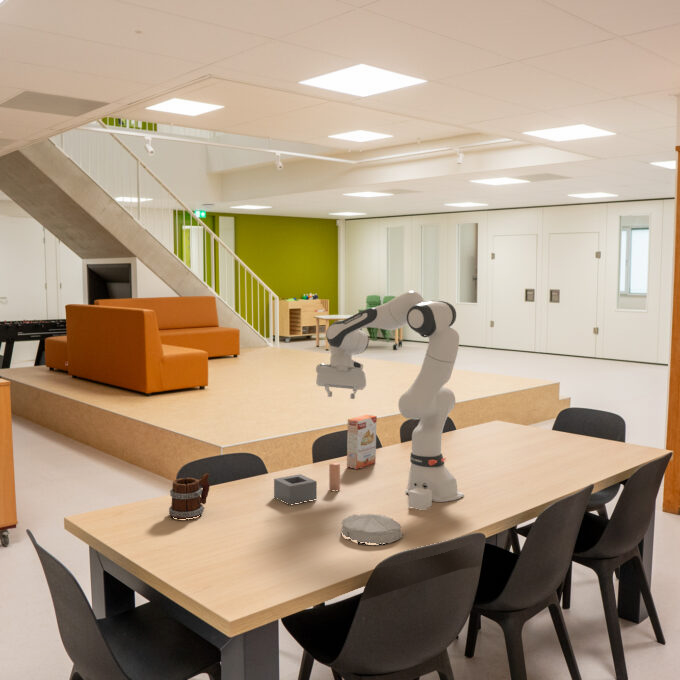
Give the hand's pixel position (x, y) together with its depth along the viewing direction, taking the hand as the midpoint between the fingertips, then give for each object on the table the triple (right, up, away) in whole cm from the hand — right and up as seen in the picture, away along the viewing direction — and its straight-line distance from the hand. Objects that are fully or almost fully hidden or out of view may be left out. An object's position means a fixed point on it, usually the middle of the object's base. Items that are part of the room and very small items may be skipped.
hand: (341, 397), depth 284 cm
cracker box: (+9, -31, +20) cm, 38 cm away
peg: (-3, -34, -15) cm, 37 cm away
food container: (+9, -39, -60) cm, 72 cm away
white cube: (+28, -36, -34) cm, 57 cm away
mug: (-52, -36, -43) cm, 76 cm away
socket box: (-17, -35, -26) cm, 47 cm away
